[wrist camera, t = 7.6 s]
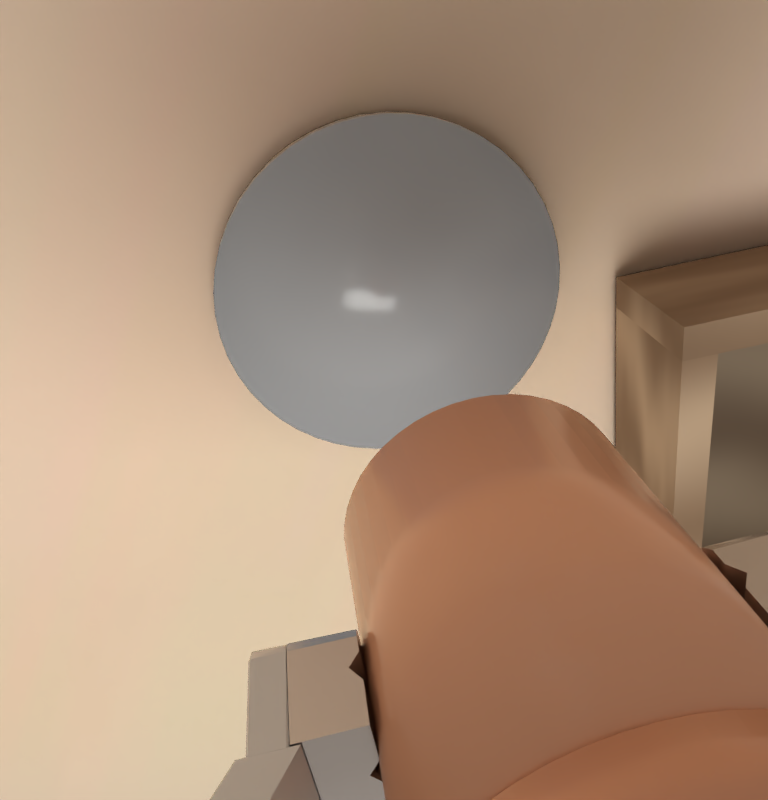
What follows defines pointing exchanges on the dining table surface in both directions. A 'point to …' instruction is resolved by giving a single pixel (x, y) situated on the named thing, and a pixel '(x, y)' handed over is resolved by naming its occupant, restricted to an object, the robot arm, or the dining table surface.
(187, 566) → the dining table surface
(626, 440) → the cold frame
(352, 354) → the grey flat disc
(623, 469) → the orange cylinder
